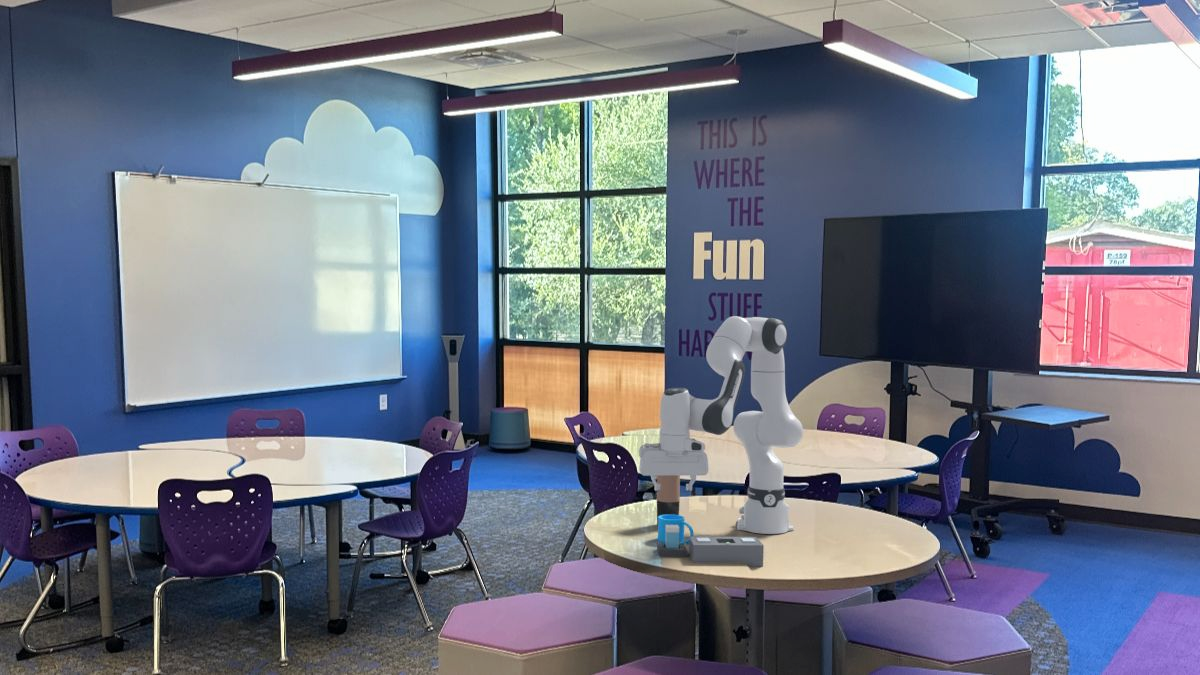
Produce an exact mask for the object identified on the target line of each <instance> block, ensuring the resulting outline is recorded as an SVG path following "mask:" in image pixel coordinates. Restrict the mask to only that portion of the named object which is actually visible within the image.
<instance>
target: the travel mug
mask: <svg viewBox="0 0 1200 675" xmlns="http://www.w3.org/2000/svg"><path fill="white" fill-rule="evenodd" d="M680 479H681V475H668V476H657V479H656V482H657V484H660V485H661V487H660V489H661V490H660V491H656V525H657V527H658V516H660V515H669V514H670V515H680V498H681V496H680V495H681V494H680V492H681V491H680V486H681V484H680V483H681V480H680Z"/></svg>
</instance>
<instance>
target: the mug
mask: <svg viewBox="0 0 1200 675" xmlns="http://www.w3.org/2000/svg"><path fill="white" fill-rule="evenodd" d="M666 525H678V526H679V543H684V544H689V538H688V539H687V540H685V526H686V527H687V529H688V530H689V532H690V533H689V536H692V537H694V529H693V527H692V525H690V524H689V522H688V523H687V522H686V521H685V517H684V516H683V515H680V514H679V515H670V514H669V515H660V516H658V526H657V541H658V542H659V543H665V532H666Z"/></svg>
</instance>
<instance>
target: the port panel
mask: <svg viewBox="0 0 1200 675" xmlns="http://www.w3.org/2000/svg"><path fill="white" fill-rule="evenodd" d="M688 539H689V542H688V554H689V557H690V559H691V561H692V563H698V564H699V563H702V564H703V563H705V564H709V563H711V564H712V563H713V564H714V563H717V564H718V563H719V564H721V563H724V564H726V563H728V564H729V563H730V564H735V563H736V564H737V563H738V564H746V565H747V567H764V544H763V543H762V541H760V539H759V538H758V536H693V537H692V536H690V535H689V537H688Z"/></svg>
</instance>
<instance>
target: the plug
mask: <svg viewBox="0 0 1200 675" xmlns="http://www.w3.org/2000/svg"><path fill="white" fill-rule="evenodd" d="M665 548H679V526H678V525H666V532H665Z"/></svg>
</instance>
